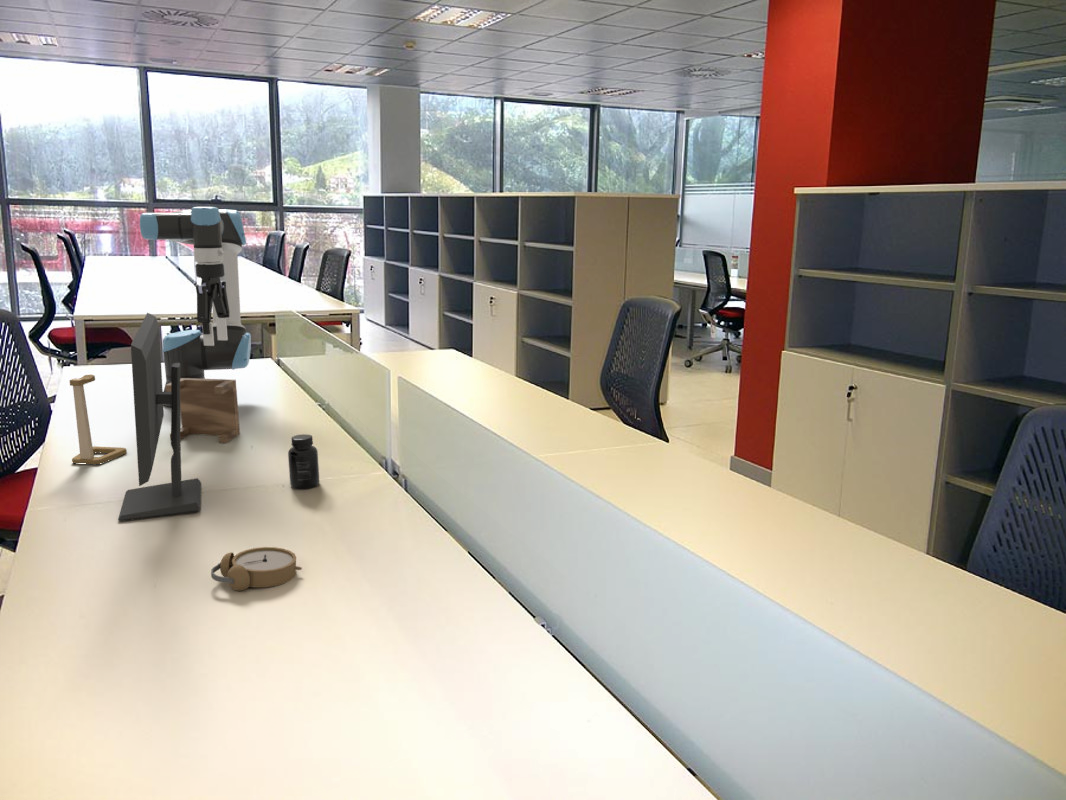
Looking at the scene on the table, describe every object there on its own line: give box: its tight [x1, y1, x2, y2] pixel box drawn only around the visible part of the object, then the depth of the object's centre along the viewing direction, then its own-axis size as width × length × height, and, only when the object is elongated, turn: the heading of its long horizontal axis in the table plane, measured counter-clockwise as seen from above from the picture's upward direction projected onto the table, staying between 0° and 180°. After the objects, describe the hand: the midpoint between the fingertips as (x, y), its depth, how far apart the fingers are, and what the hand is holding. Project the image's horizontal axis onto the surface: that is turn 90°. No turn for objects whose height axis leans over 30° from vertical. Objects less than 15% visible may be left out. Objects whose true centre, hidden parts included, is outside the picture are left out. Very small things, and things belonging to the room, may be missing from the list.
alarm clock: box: [210, 546, 303, 592], centre depth 150 cm, size 11×5×15 cm
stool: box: [164, 378, 241, 444], centre depth 232 cm, size 9×16×16 cm, turn 85°
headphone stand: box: [69, 374, 128, 465], centre depth 212 cm, size 10×11×22 cm
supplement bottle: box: [287, 434, 320, 490], centre depth 196 cm, size 7×7×12 cm
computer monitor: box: [117, 312, 202, 522], centre depth 180 cm, size 44×16×40 cm, turn 21°
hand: (216, 342), depth 238 cm, fingers open, 8 cm apart
